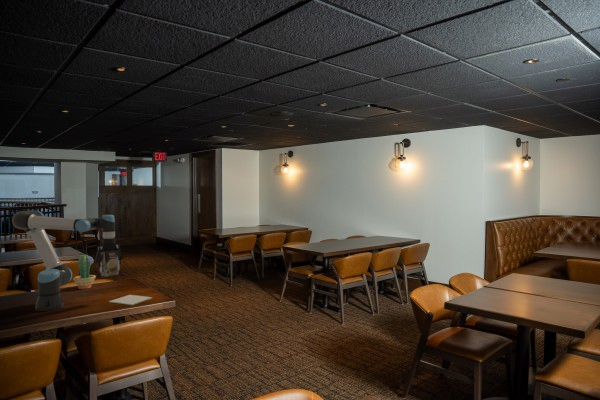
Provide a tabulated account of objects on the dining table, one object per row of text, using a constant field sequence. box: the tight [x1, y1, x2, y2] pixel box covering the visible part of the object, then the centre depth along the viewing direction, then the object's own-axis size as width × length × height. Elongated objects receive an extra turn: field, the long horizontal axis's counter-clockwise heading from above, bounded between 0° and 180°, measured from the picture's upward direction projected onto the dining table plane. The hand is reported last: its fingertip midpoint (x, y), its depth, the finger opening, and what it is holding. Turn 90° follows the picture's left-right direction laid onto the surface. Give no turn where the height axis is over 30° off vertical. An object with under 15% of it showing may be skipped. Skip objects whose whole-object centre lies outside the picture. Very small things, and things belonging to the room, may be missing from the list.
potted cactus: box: [72, 254, 97, 290], centre depth 307 cm, size 15×15×25 cm
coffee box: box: [100, 249, 120, 277], centre depth 268 cm, size 9×6×16 cm
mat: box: [108, 294, 153, 306], centre depth 269 cm, size 20×18×1 cm
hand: (109, 270), depth 269 cm, fingers closed on coffee box, 10 cm apart
